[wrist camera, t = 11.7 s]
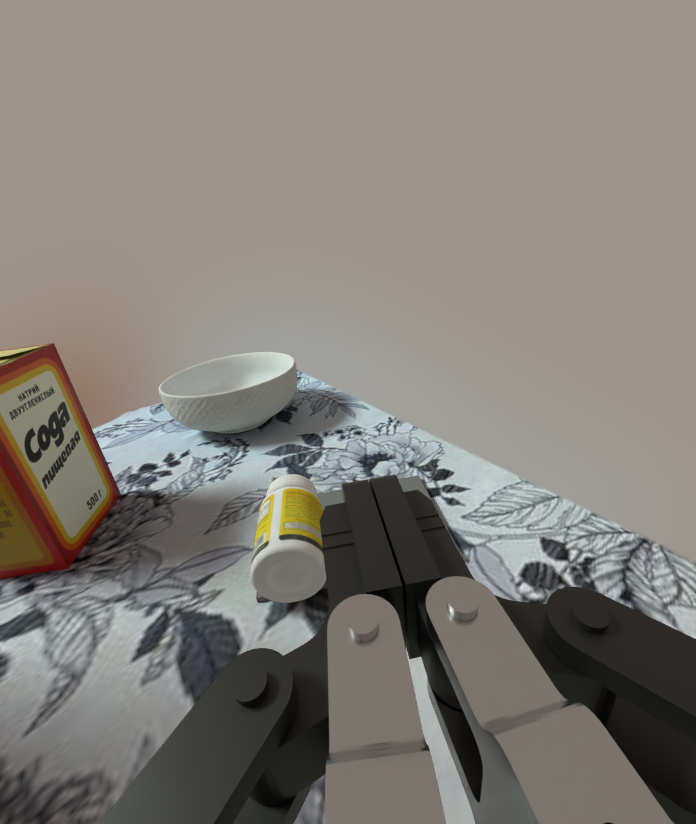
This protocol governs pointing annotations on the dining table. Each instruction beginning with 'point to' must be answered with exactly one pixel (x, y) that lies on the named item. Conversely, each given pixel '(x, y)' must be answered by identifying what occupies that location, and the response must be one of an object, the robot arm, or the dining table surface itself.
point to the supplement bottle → (288, 542)
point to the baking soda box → (46, 466)
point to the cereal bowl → (231, 391)
